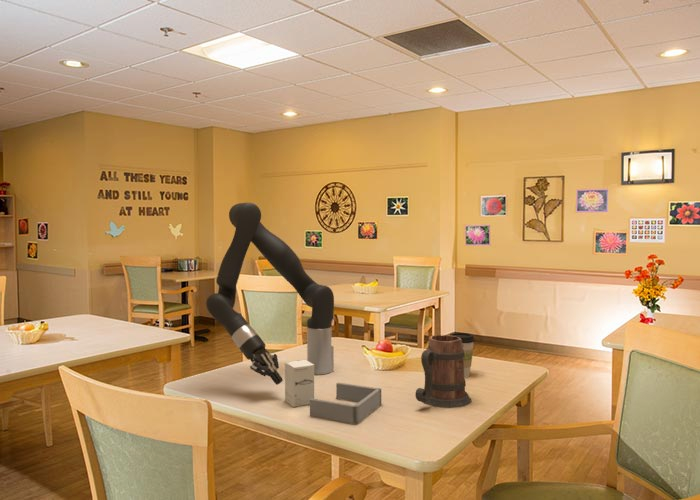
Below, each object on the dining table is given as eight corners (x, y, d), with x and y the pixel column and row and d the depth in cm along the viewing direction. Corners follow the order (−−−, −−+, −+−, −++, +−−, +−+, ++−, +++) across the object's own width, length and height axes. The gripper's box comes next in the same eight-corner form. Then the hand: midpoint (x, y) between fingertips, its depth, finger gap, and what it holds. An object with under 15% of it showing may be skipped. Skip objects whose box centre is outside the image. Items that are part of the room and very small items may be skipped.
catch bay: (309, 416, 158) (309, 399, 157) (338, 397, 174) (338, 382, 174) (356, 424, 151) (356, 407, 151) (381, 404, 168) (381, 388, 167)
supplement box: (293, 407, 165) (292, 367, 164) (284, 400, 171) (284, 361, 171) (315, 404, 168) (314, 364, 167) (305, 397, 175) (305, 358, 174)
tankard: (437, 387, 184) (437, 330, 183) (481, 398, 173) (482, 337, 172) (395, 405, 167) (396, 341, 166) (442, 418, 156) (442, 350, 155)
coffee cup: (445, 377, 196) (445, 336, 196) (450, 370, 206) (450, 331, 205) (472, 380, 193) (472, 338, 192) (476, 372, 202) (476, 333, 201)
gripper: (242, 338, 170) (275, 381, 165) (266, 330, 182) (297, 370, 177) (229, 353, 172) (261, 395, 168) (253, 344, 184) (284, 384, 180)
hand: (280, 382), depth 173 cm, fingers closed
